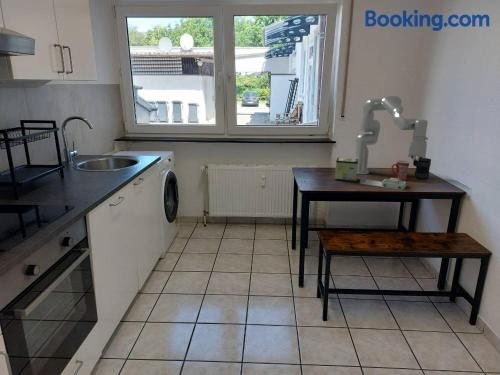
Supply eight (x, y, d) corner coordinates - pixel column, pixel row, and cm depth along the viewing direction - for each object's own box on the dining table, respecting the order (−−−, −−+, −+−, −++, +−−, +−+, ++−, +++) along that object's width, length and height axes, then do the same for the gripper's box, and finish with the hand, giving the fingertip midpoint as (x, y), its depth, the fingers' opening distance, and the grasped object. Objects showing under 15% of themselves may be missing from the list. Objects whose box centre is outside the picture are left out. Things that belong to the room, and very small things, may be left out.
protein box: (336, 177, 264) (337, 157, 259) (356, 178, 259) (358, 158, 254) (334, 180, 254) (335, 160, 250) (356, 182, 249) (357, 161, 245)
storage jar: (430, 180, 253) (433, 160, 249) (416, 179, 255) (418, 160, 251) (426, 176, 263) (429, 158, 258) (412, 176, 264) (415, 157, 260)
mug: (403, 177, 261) (406, 160, 257) (409, 180, 253) (412, 162, 249) (387, 177, 261) (389, 160, 257) (392, 180, 252) (395, 163, 248)
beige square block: (390, 183, 243) (390, 177, 242) (398, 184, 239) (399, 178, 238) (388, 185, 238) (388, 179, 237) (397, 186, 235) (397, 180, 234)
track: (359, 183, 246) (360, 178, 245) (364, 179, 256) (365, 174, 255) (403, 190, 230) (403, 184, 229) (406, 185, 240) (407, 180, 239)
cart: (381, 185, 238) (381, 182, 237) (385, 182, 247) (385, 178, 246) (402, 189, 230) (403, 185, 230) (405, 185, 240) (406, 181, 239)
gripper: (432, 138, 221) (428, 166, 226) (407, 137, 229) (404, 163, 235) (430, 140, 215) (426, 168, 221) (405, 138, 223) (402, 165, 229)
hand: (415, 165), depth 228 cm, fingers closed
